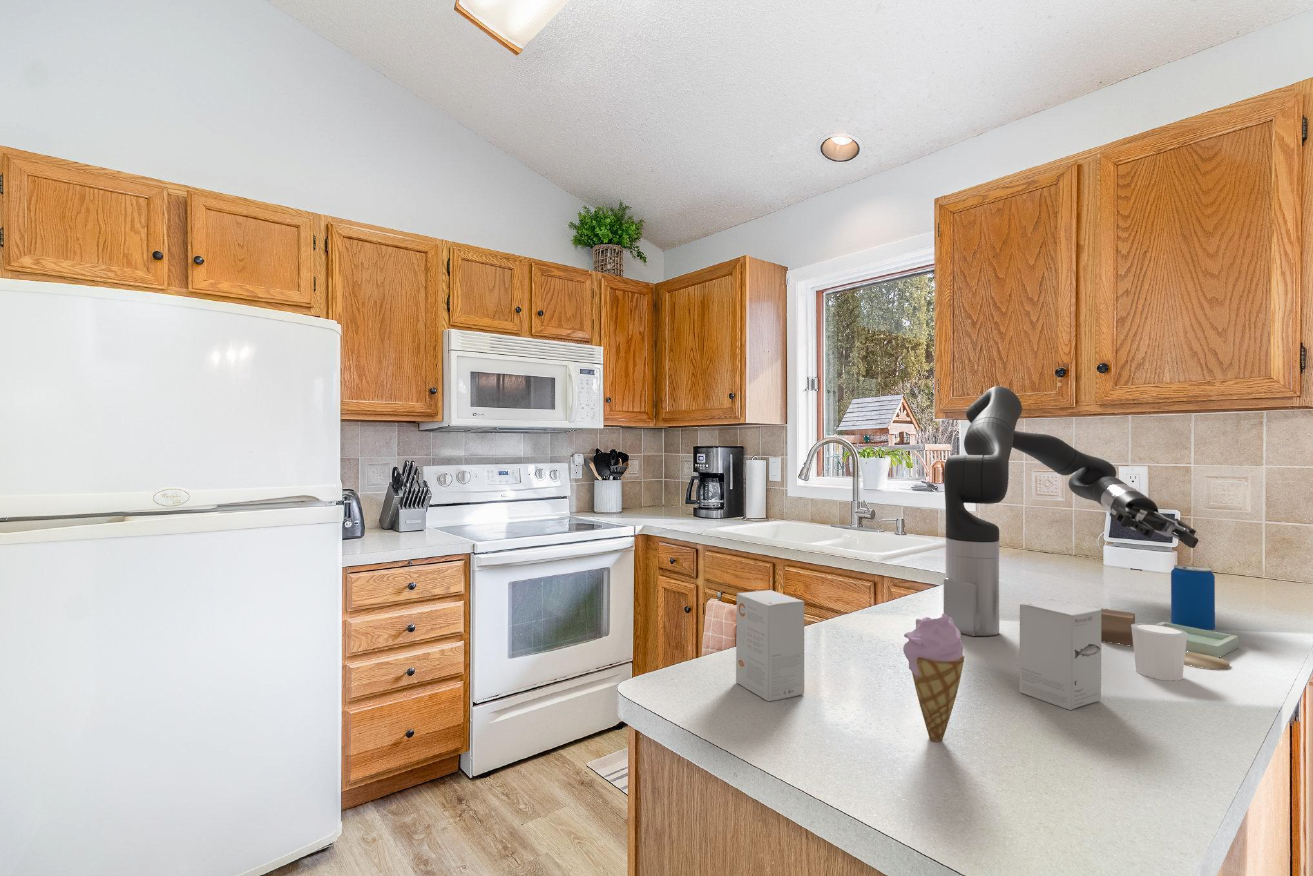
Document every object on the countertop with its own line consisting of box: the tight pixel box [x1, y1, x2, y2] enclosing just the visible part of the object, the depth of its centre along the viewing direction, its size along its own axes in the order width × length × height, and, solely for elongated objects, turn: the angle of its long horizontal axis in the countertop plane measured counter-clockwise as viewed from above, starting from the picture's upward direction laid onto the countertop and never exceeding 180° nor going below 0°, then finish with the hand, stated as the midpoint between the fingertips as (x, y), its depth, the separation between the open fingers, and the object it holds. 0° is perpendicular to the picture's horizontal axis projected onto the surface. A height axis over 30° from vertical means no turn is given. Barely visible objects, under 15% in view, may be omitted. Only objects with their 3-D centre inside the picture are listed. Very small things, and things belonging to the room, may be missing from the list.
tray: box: [1155, 621, 1240, 658], centre depth 113 cm, size 11×11×2 cm
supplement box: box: [1018, 599, 1102, 711], centre depth 88 cm, size 7×7×13 cm
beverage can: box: [1170, 564, 1216, 631], centre depth 123 cm, size 6×6×12 cm
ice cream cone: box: [902, 612, 965, 743], centre depth 75 cm, size 7×6×15 cm
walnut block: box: [1100, 608, 1136, 647], centre depth 115 cm, size 5×5×5 cm
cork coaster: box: [1184, 651, 1230, 670], centre depth 104 cm, size 8×8×1 cm
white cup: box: [1131, 622, 1187, 681], centre depth 98 cm, size 7×7×7 cm
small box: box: [735, 589, 805, 702], centre depth 90 cm, size 8×6×13 cm
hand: (1172, 539), depth 128 cm, fingers open, 8 cm apart
